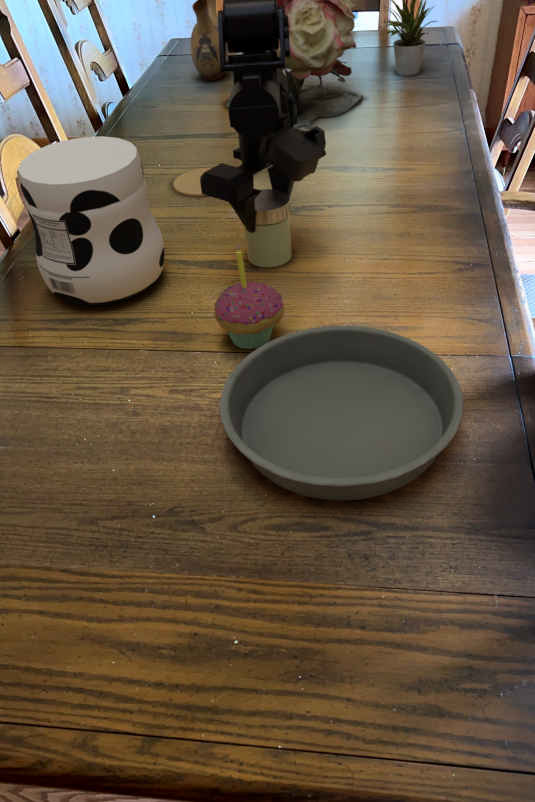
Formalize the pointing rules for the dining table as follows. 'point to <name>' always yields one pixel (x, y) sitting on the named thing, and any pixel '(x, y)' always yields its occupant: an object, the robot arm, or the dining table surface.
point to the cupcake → (248, 310)
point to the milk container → (92, 220)
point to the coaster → (190, 182)
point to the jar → (269, 244)
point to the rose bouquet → (317, 55)
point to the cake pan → (341, 411)
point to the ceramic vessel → (206, 40)
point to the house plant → (408, 38)
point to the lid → (271, 207)
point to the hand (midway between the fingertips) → (266, 222)
